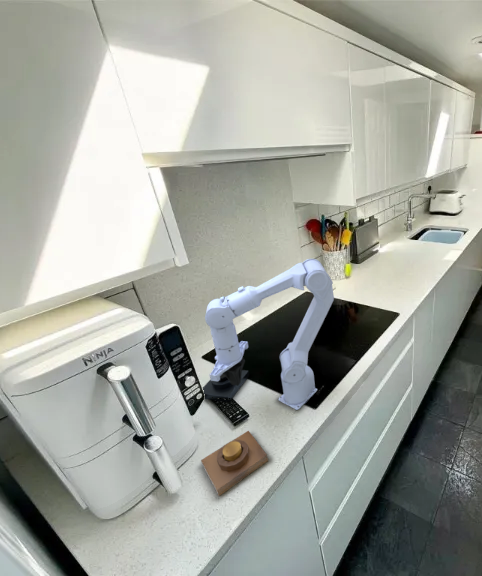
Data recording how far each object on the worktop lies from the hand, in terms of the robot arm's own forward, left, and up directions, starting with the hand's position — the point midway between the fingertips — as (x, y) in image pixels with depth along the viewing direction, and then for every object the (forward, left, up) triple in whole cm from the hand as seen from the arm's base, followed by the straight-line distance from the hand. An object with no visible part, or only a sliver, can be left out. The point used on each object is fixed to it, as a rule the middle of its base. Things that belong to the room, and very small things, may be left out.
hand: (236, 383), depth 86 cm
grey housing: (-4, -13, -10) cm, 17 cm away
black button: (-4, -13, -7) cm, 15 cm away
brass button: (+12, +12, -7) cm, 18 cm away
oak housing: (+12, +12, -10) cm, 20 cm away
